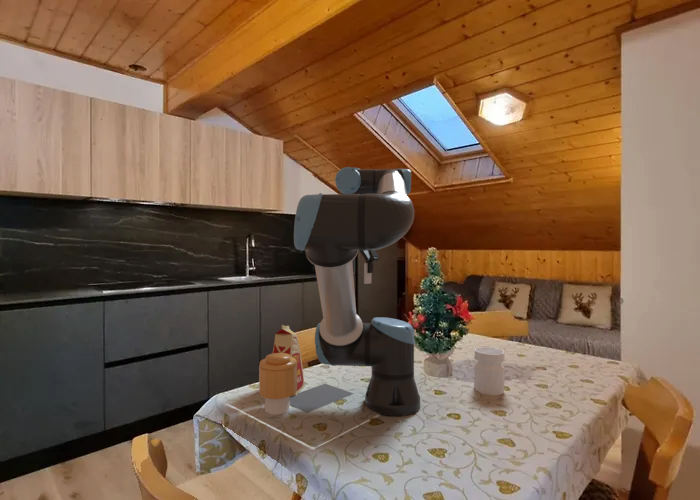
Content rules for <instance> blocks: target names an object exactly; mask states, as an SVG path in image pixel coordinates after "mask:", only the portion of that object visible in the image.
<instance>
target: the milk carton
mask: <svg viewBox="0 0 700 500" xmlns="http://www.w3.org/2000/svg"><path fill="white" fill-rule="evenodd" d="M280 326H281V329H279V330H278V331H277V332H276V333H275V334H274V335H275V336H274V342H273V349H272V352H271V354H273V353H287V354H289V355H290V357H292V358H294V359H296V361H297V392H296V393H295V394H294V395H292V396H296V395H297V394H298V393H300V392H302V390H303V389H304V388H305V387H306V385H305V376H304V369H303V361H302V353H301V348H300V343H299V338H298V334H296V332H294V331H293V330H291V329H290V325H284V324H281V325H280Z"/></svg>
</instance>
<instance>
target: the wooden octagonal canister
mask: <svg viewBox="0 0 700 500" xmlns="http://www.w3.org/2000/svg"><path fill="white" fill-rule="evenodd" d="M258 372H259V373H258V376H259V377H258V381H259V383H258V391H259V396H261V397H262V398H264V399H265V398H269V399H281V398H287V397H290V396H292V395H294V394H295V393H296V392H297V361H296V359H294V358H292V357H290V355H289V354H287V353H273V354H272V353H270V354H266V356H265V358H263V359H261V360H260V361H259V365H258Z"/></svg>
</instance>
